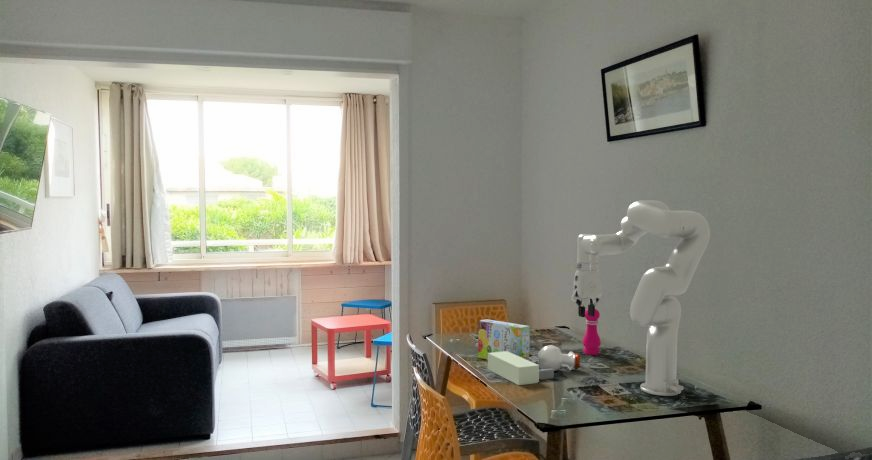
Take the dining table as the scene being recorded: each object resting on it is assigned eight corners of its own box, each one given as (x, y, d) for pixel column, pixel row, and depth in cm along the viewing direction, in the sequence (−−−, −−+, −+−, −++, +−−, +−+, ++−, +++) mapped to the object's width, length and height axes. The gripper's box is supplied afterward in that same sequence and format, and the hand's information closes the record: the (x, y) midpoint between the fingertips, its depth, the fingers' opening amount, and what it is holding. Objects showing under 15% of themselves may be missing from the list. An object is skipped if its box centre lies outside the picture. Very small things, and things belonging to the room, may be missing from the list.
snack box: (530, 365, 241) (530, 325, 240) (521, 367, 236) (521, 327, 236) (486, 355, 255) (486, 318, 254) (477, 358, 251) (477, 320, 250)
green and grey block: (558, 380, 220) (558, 363, 220) (518, 385, 214) (518, 367, 214) (525, 364, 240) (525, 349, 240) (487, 369, 234) (487, 353, 234)
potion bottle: (534, 373, 233) (573, 377, 235) (542, 364, 225) (582, 368, 227) (533, 350, 238) (571, 354, 240) (540, 339, 230) (580, 344, 232)
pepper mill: (601, 355, 255) (601, 306, 255) (582, 354, 257) (583, 305, 256) (600, 351, 263) (600, 303, 262) (582, 350, 264) (582, 302, 263)
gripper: (574, 269, 230) (574, 319, 230) (611, 267, 236) (611, 316, 237) (562, 267, 236) (561, 316, 237) (599, 265, 243) (598, 313, 244)
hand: (586, 315), depth 237 cm, fingers open, 3 cm apart
